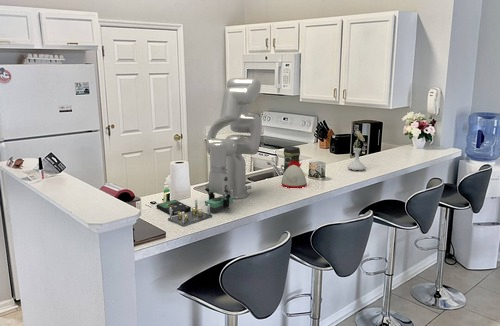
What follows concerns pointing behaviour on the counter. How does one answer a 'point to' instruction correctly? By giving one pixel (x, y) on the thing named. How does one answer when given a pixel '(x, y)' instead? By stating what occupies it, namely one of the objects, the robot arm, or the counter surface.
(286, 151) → the coffee jar
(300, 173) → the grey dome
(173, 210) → the disk drive
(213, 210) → the block
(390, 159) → the counter surface
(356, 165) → the flower in vase
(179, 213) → the chassis
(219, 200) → the board
